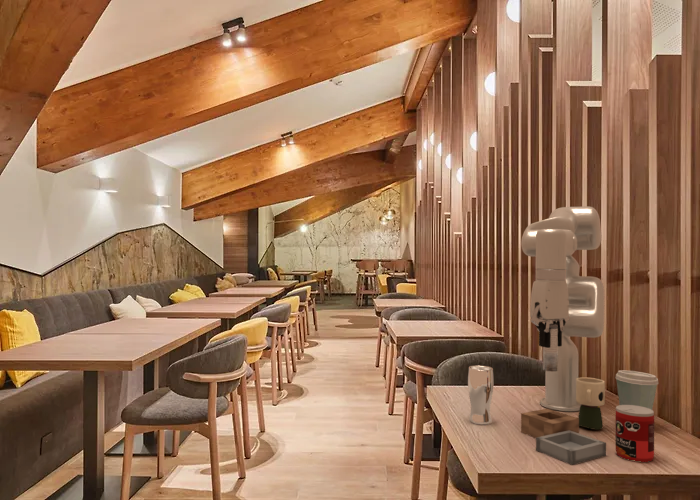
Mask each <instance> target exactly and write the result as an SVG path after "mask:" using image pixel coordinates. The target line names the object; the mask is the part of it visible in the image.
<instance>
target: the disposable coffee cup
mask: <svg viewBox="0 0 700 500" xmlns="http://www.w3.org/2000/svg"><path fill="white" fill-rule="evenodd" d="M615 379H616V380H615V381H616V387H617V395H618V402H619V404H618V405H635V406H641V407H646V408H649V409H651V410H653V407H654V402H655V398H656V391H657V386H658V385H659V379H658V377H657V375H654V374H652V373H648V372H647V373H646V372H642V371H635V370H625V369H624V370H622V369H621V370H618V371H617V372H616V374H615Z"/></svg>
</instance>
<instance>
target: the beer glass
mask: <svg viewBox="0 0 700 500" xmlns="http://www.w3.org/2000/svg"><path fill="white" fill-rule="evenodd" d="M467 386H468V387H467V389H468V390H467V391H468V397H469V401H470V402H469V403H470V413H469V417H468V421H469V422H470V423H471V424H475V425H481V426H485V425H490V424H491V423H492V417H491V404H492V398H493V394H494V369H493V367H491V366H487V365H470V366H469V367H468V375H467Z"/></svg>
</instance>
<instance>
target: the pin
mask: <svg viewBox="0 0 700 500" xmlns="http://www.w3.org/2000/svg"><path fill="white" fill-rule="evenodd" d="M543 324H544V325H545V323H543ZM548 332H550V333H551V344H550V348H546V347H542V370H543V371H545V372H546V371H558V324H554V323H550V324H549V331H548Z"/></svg>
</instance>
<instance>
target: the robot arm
mask: <svg viewBox="0 0 700 500" xmlns="http://www.w3.org/2000/svg"><path fill="white" fill-rule="evenodd" d="M600 218H601V217H600V215H599V213H598V211H597V209H595V207H593V206H589V205H588V206H587V205H586V206H584V205H583V206H562V207H559V208H556V209H554V210H553V211H552V212H551V213H550V215H549V216H548V218H546V219H543V220H539V221H535V222H533V223H530V224H529V225H527V227H526V228H525V229H524V231H523V234H522V237H521V240H520V241H521V242H520V244H521V245H520V246H521V250H522V252H523V253H524V254H525V255H526V256H527V257H535V281H533V283H532V288H531V294H530V304H529V305H530V306H529V317H530V322H531V323H532V324H534V325H535V327H536V330H537V332H538V346H539V347H541V348H543V347H546V348H550V344H551V333H550V332H548V331H549V324H550V323H554V324H558V371H545V381H544V382H545V389H544V390H545V395H544V396H545V397H543V398H540V400H539V404H540V405H541V406H542V407H544V408H545V409H550V410H553V411H558V412H579V409H580V406H581V405H582V404H580V403H578V402H577V401H576V379H577V378H579V349H578V347H577V346H576V344H575V343H574V341H573V340H572V339H571V337H578V338H579V337H581V338H598V337H599V338H600V337H601V335H603V333H604V329H605V286H604V283H603V281H602V280H601V278H598V277H596V276H588V275H587V276H585V275H584V276H583V275H581V276H580V268H581V267H580V264H579V262H578V261H577V259H575V257H574V256H573V254H574V253H575V251H577V250H578V251H581V250H582V251H590V250H596V249H598V248H599V247H600V246H601V243H602V229H601V219H600ZM543 323H545V325H544V324H543Z"/></svg>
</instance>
